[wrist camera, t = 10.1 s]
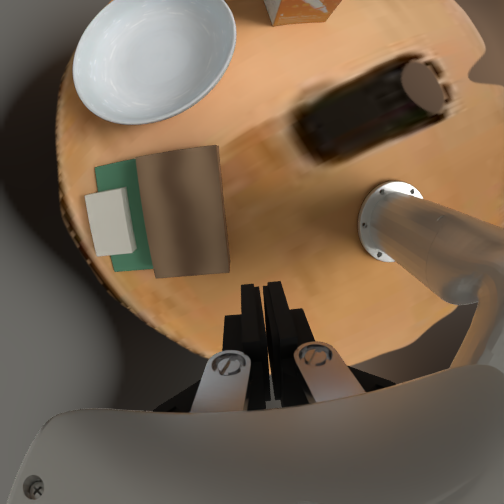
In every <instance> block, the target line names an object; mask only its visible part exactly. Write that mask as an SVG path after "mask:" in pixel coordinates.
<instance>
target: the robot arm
mask: <svg viewBox="0 0 504 504" xmlns="http://www.w3.org/2000/svg"><path fill="white" fill-rule="evenodd" d="M380 190H381V192H380ZM363 223H364V224H363ZM362 224H363V225H362ZM358 234H359V238H360V241H361V243H362V245H363V247H364V248H365V249H366V251H367V252H368V253H369V254H370V255H372V256H373V257H374V258H376V259H377V260H380V261H383V262H397V263H398V264H400V265H401V266H402V267H403V268H405V269H406V270H407V271H408V272H409V273H411V274H412V275H413V276H414V277H416V278H417V279H418V280H419V281H420V282H422V283H423V284H424V285H425V286H426V287H428V288H429V289H430V290H431V291H432V292H434V293H435V294H436V295H437V296H439V297H440V298H441V299H442V300H444V301H446V302H448V303H450V304H455V305H465V304H471V303H475V302H478V306H477V309H476V312H475V315H474V317H473V320H472V324H471V326H470V328H469V331H468V332H467V335H466V337H465V339H464V341H463V343H462V345H461V347H460V349H459V351H458V353H457V355H456V357H455V358H454V360H453V362H452V364H451V366H450V368H449V369H446V370H443V371H440V372H437V373H433V374H430V375H427V376H424V377H420V378H417V379H414V380H411V381H407V382H402V383H401V384H397V385H396V384H395V383H393V382H391V381H389V380H386V379H383V378H380V377H377V376H375V375H372V374H369V373H366V372H363V371H360V370H358V369H355V368H352V367H350V366H347V365H346V364H345V362H344V361H343V359H342V358H341V357H340V355H339V354H338V352H337V351H336V350H335V349H334V348H333V347H332V346H331V345H329V344H327V343H324V342H316V341H315V340H314V337H313V334H312V332H311V329H310V326H309V324H308V321H307V319H306V316H305V313H304V311H303V309H302V308H300V309H291V310H289V307H288V304H287V300H286V297H285V294H284V291H283V288H282V284H281V281H276V282H268V286H263V295H264V309H265V324H266V331H265V324H264V317H263V310H262V304H261V297H260V290H259V287H254V284H244V285H241V312H242V314H240V315H227V316H225V320H224V334H223V348H222V352H219V353H217V354H215V355H213V356H212V357H211V358H210V359H209V361H208V362H207V365H206V368H205V371H204V373H203V376H202V379H201V380H199V381H198V382H196V383H195V384H193V385H191V386H190V387H188V388H187V389H185V390H184V391H182V392H180V393H179V394H178V395H176V396H174V397H173V398H171V399H169V400H168V401H166V402H164V403H163V404H161V405H159V406H158V407H157V408H156V409H154V410H153V412H150V411H146V410H144V411H133V410H132V411H131V410H118V409H98V408H92V409H78V410H73V411H67V412H64V413H60V414H57V415H55V416H53V417H52V418H50V419H49V420H48V421H47V422H46V423H45V424H44V425H43V426H42V428H41V429H40V431H39V432H38V434H37V435H36V437H35V438H34V440H33V442H32V444H31V445H30V447H29V449H28V451H27V453H26V455H25V457H24V460H23V462H22V464H21V466H20V468H19V471H18V473H17V476H16V478H15V481H14V483H13V486H12V489H11V492H10V495H9V498H8V501H7V504H504V228H501V227H498V226H496V225H493V224H490V223H487V222H485V221H482V220H479V219H477V218H474V217H472V216H469V215H467V214H464V213H461V212H459V211H456V210H453V209H451V208H448V207H445V206H442V205H440V204H437V203H434V202H431V201H428V200H425V199H423V197H422V195H421V194H420V192H419V191H418V190H417V189H416V188H415V187H413V186H412V185H410V184H408V183H405V182H401V181H388V182H384V183H382V184H380V185H378V186H377V187H376V188H374V189H373V190H372V191H371V192H370V193H369V194H368V195H367V197H366V199H365V200H364V202H363V204H362V206H361V209H360V212H359V216H358ZM377 253H378V254H377ZM267 347H268V349H267ZM268 354H269V361H270V368H271V375H272V382H273V389H274V396H275V400H281V406H282V408H274V409H266V403H265V401H270V400H271V396H270V380H269V364H268Z"/></svg>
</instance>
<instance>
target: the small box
mask: <svg viewBox="0 0 504 504" xmlns="http://www.w3.org/2000/svg"><path fill="white" fill-rule="evenodd" d="M341 1H342V0H264V3H265V6H266V8H267V11H268V14H269V17H270V20H271V23H272V25H273V26H278V25H286V24H296V23H310V22H326V20H327V19H328V18H329V16H330V15H331V14H332V13H333V11H334V10H335V9H336V7H337V6H338V5H339V4H340V2H341Z"/></svg>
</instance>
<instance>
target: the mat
mask: <svg viewBox="0 0 504 504" xmlns="http://www.w3.org/2000/svg"><path fill="white" fill-rule="evenodd" d="M95 173H96V180H97V187H98V192H101V191H106V190H111V189H117V188H122V187H127V194H128V201H129V207H130V214H131V219H132V225H133V231H134V236H135V241H136V246H137V249H136V250H135V251H134V252H133V253H127V254H117V255H111V259H112V263H113V267H114V271H115V272H119V271H131V270H144V269H154V268H153V264H152V259H151V254H150V249H149V244H148V239H147V233H146V228H145V222H144V216H143V210H142V203H141V197H140V190H139V182H138V175H137V166H136V159H131V160H126V161H121V162H116V163H112V164H107V165H103V166H99V167H95Z"/></svg>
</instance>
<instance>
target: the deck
mask: <svg viewBox="0 0 504 504" xmlns="http://www.w3.org/2000/svg"><path fill="white" fill-rule="evenodd" d="M136 166H137V175H138V182H139V190H140V197H141V203H142V210H143V216H144V222H145V228H146V233H147V239H148V244H149V249H150V254H151V259H152V264H153V268H154V273H155V277H156V278H168V277H181V276H194V275H206V274H218V273H229V271H230V255H229V246H228V237H227V227H226V218H225V209H224V199H223V189H222V179H221V168H220V158H219V147H218V146H217V145H212V146H204V147H196V148H189V149H182V150H175V151H168V152H162V153H157V154H151V155H145V156H140V157H136Z"/></svg>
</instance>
